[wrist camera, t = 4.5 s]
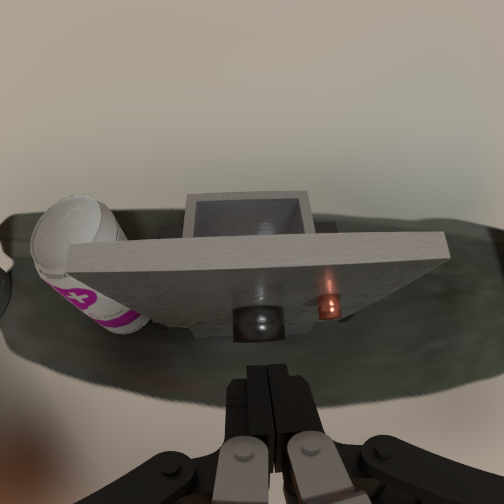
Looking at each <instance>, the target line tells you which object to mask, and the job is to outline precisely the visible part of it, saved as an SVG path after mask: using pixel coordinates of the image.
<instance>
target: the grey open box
mask: <svg viewBox="0 0 504 504" xmlns="http://www.w3.org/2000/svg"><path fill="white" fill-rule="evenodd" d="M316 233H338V231H337V227H336V223H335V222H313V218H312V213H311V208H310V203H309V199H308V195H307V191H263V192H262V191H261V192H260V191H259V192H228V193H206V194H189V195H187V201H186V209H185V218H184V226H179V227H161V230H160V237H159V239H171V238H194V237H219V236H247V235H279V234H316ZM353 315H354V313H352V314H350V315H348V316H346V317H344V318H342V319H340V320H338V323H339V322H348V321H349V320H350V318H351V317H352V316H353ZM152 323H153V324H154V325H155V326H156V327H157V328H158V329H159V330H168V327H167V326H165V325H162V324H160V323H158V322H156V321H154V320H152ZM314 324H315V322H311V323H298V324H285V335H294V334H307V333H308V332H309V331H310V329H311V328H312V327H313V325H314ZM189 329H190V330H191V332H192V333H193V335H194V336H195V338H233V327H189Z"/></svg>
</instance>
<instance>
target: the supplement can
mask: <svg viewBox="0 0 504 504" xmlns="http://www.w3.org/2000/svg"><path fill="white" fill-rule="evenodd" d="M110 241H128V240H127V238H126V236H125V234H124V233H123V231H122V229H121V228H120V226H119V224H118V222H117V220H116V219H115V217H114V215H113V213H112V212H111V211H110V210H109V209H108V208H107V207H106V206H105V204H102V203H100V202H98V201H95V200H94V199H93V198H92V197H89V196H86V195H84V194H83V195H72V196H69V197H67V198H64V199H62V200H60V201H58V202H57V203H56V204H54V205H53V206H51V207H50V208H49V209H48V210H47V211H46V212H45V213H44V214H43V216H42V217H41V218H40V220H39V221H38V223H37V225H36V226H35V228H34V231H33V234H32V238H31V254H32V256H33V259H34V263H35V267H36V269H37V271H38V273H39V275H40V277H41V278H42V279H43V280H44V281H45V282H47V283H48V284H49V285H50V286H51V287H52V288H54V289H55V290H56V291H57V292H58V293H60V294H61V295H62V296H63V297H65V298H66V299H67V300H68V301H70V302H71V303H72V304H73V305H75V306H76V307H77V308H78V309H80V310H81V311H82V312H84V313H85V314H86V315H88V316H89V317H90V318H92V319H93V320H94V321H96V322H97V323H98V324H100V325H101V326H103V327H104V328H106V329H107V330H109V331H111V332H112V333H118V334H128V333H132V332H135V331H137V330H138V329H140V328H141V327H143V326H144V325H146V324H147V322H148V321H149V320H150V318H148V317H146V316H144V315H142V314H140V313H138V312H136V311H134V310H132V309H130V308H128V307H126V306H124V305H122V304H120V303H118V302H116V301H114V300H112V299H110V298H109V297H107V296H105V295H103V294H101V293H99V292H98V291H96V290H94V289H92V288H90V287H89V286H87V285H85V284H83V283H82V282H80V281H78V280H76V279H75V278H73V277H71V276H70V275H68V274H66V273H65V265H66V259H67V253H68V247H69V244H76V243H92V242H110Z"/></svg>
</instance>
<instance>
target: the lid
mask: <svg viewBox="0 0 504 504" xmlns="http://www.w3.org/2000/svg"><path fill="white" fill-rule="evenodd" d="M448 259H450V254H449V250H448V246H447V242H446V238H445V235H444V232H367V233H316V234H279V235H247V236H219V237H194V238H171V239H149V240H129V241H110V242H92V243H76V244H69V247H68V253H67V259H66V265H65V273H66V274H68V275H70V276H71V277H73V278H75V279H76V280H78V281H80V282H82V283H83V284H85V285H87V286H89V287H90V288H92V289H94V290H96V291H98V292H99V293H101V294H103V295H105V296H107V297H109V298H110V299H112V300H114V301H116V302H118V303H120V304H122V305H124V306H126V307H128V308H130V309H132V310H134V311H136V312H138V313H140V314H142V315H144V316H146V317H148V318H150V319H152V320H154V321H156V322H158V323H160V324H162V325H165V326H167V327H233V342H234V343H262V342H274V341H282V340H285V324H298V323H311V322H323V321H334V320H340V319H342V318H344V317H346V316H348V315H350V314H352V313H354V312H356V311H358V310H360V309H362V308H364V307H366V306H368V305H370V304H371V303H373V302H375V301H377V300H379V299H381V298H383V297H385V296H387V295H388V294H390V293H392V292H394V291H396V290H397V289H399V288H401V287H403V286H405V285H406V284H408V283H410V282H412V281H413V280H415V279H417V278H418V277H420V276H422V275H424V274H425V273H427V272H429V271H430V270H432V269H434V268H435V267H437V266H438V265H440V264H442V263H443V262H445V261H446V260H448Z"/></svg>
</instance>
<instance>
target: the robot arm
mask: <svg viewBox="0 0 504 504" xmlns="http://www.w3.org/2000/svg"><path fill="white" fill-rule="evenodd" d="M10 293H11V281H10V278H9V276H8V274H7V273H6V272H5V271H4V270H3V269H2V268H0V316H1V315H2V314H3V312H4V311H5V309H6V306H7V304H8V301H9V298H10ZM246 369H247V379H233V380H232V381H231V383H230V384H229V386H228V387H227V396H226V419H225V439H224V442H223V444H222V446H221V447H220V448H219V449H218V450H217V451H216V452H214V453H212V454H210V455H207V456H203V457H199V458H193V459H190V458H189V457H188V456H187V455H185V454H183V453H180V452H176V451H166V452H162V453H159V454H157V455H155V456H153V457H152V458H150V459H149V460H148V461H146V462H144V463H143V464H141V465H140V466H138V467H137V468H135V469H133V470H132V471H130V472H129V473H127V474H126V475H124V476H122V477H120V478H119V479H117V480H115V481H114V482H112V483H110V484H109V485H107V486H105V487H103V488H102V489H100V490H98V491H96V492H95V493H93V494H91V495H89V496H87V497H85V498H83V499H82V500H80V501H78V502H76V503H74V504H268V490H269V485H270V484H269V483H270V473H273V466H274V467H275V473H277V472H282V473H283V480H284V484H283V492H284V496H285V500H286V504H504V477H503V476H500V475H496V474H493V473H489V472H486V471H483V470H479V469H476V468H473V467H470V466H467V465H464V464H461V463H458V462H455V461H453V460H450V459H447V458H444V457H442V456H439V455H436V454H434V453H431V452H429V451H426V450H424V449H421V448H418V447H416V446H414V445H412V444H409V443H407V442H405V441H402V440H400V439H398V438H396V437H393V436H389V435H378V436H374V437H372V438H370V439H368V440H367V441H366V442H365V443H364V444H363V445H348V444H341V443H338V442H335V441H333V440H332V439H331V438H330V437H329V436H328V435H326V434H325V432H324V430H323V427H322V424H321V421H320V418H319V414H318V411H317V408H316V405H315V402H314V399H313V396H312V394H311V390H310V386H309V383H308V382H307V381H306V380H305V379H304V378H303V377H302V376H301V375H296V376H289V374H288V370H287V366H286V364H273V365H267V366H265V365H256V366H246Z"/></svg>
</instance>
